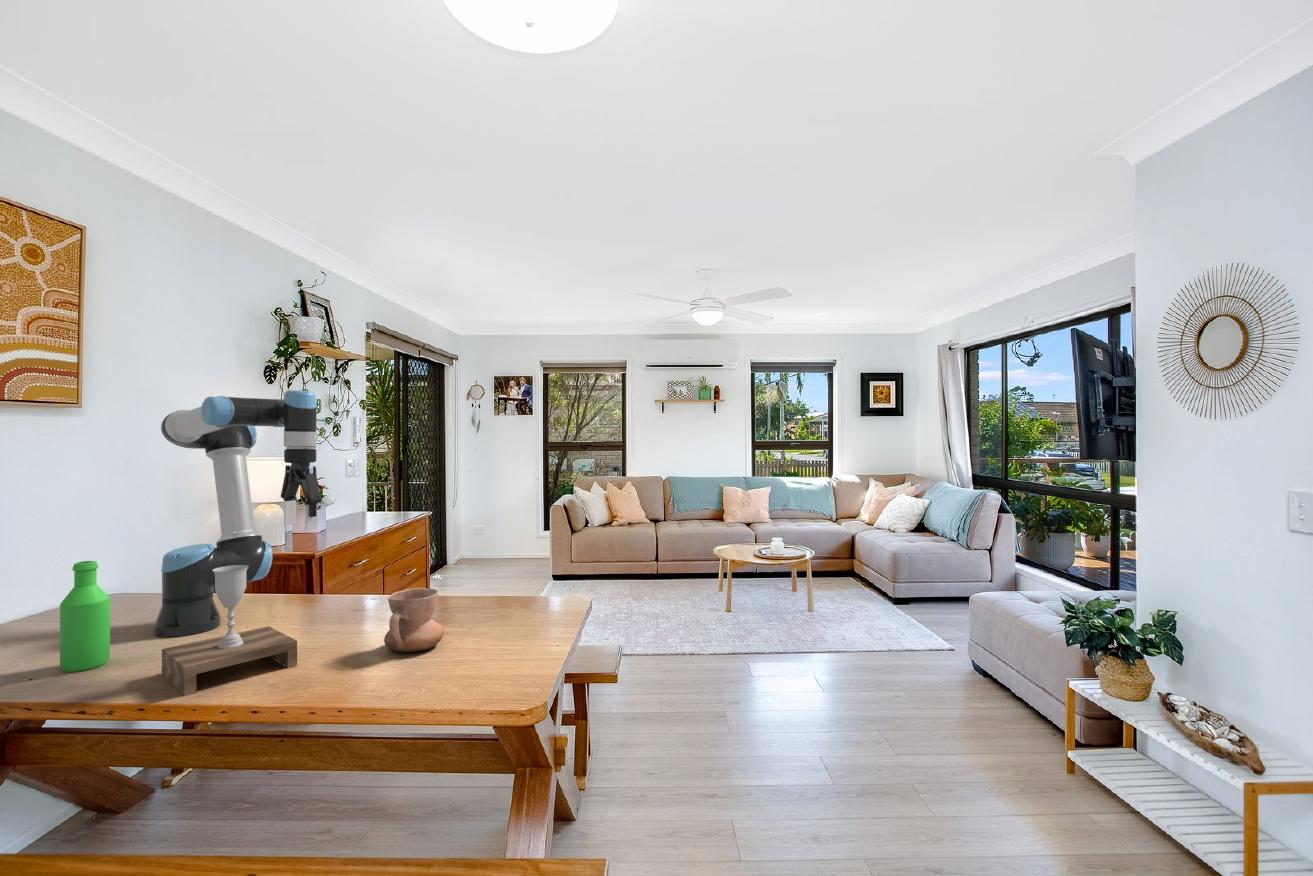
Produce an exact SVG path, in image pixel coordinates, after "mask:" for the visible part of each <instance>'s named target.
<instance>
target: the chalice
mask: <svg viewBox="0 0 1313 876" xmlns="http://www.w3.org/2000/svg"><path fill="white" fill-rule="evenodd" d="M248 567H249V566H248V565H233V566H225V567H219V568H215V569H213V570H212V571H213V572H214V574H215V588H214V592H215V594H216V597H217V599H218V600H219V602H220V604H221V605H222V607H223V608H226V609H227V611H228V613H227V615H226V617H227V619H228V621H227V623H226V625H225V626H227V629H228V631H227V632H226V634H224V635H222V636H223V637H222V638H221V641H220V644H219V645H218V648H231V647H236V646H239V645H242V644H243V643H244V642H243V641H242V638H241V637H240V635H239V634H238V633H239V632H235V631H234V626H235V625H236V623H235V621H234V617H235V616H236V615H235V614H234V609H235V608H236V607H237V606H239V604H240V602H241V600H242V599H243V596H244V594H245V591H246V589H247V583H246V571H247V569H248Z"/></svg>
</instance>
